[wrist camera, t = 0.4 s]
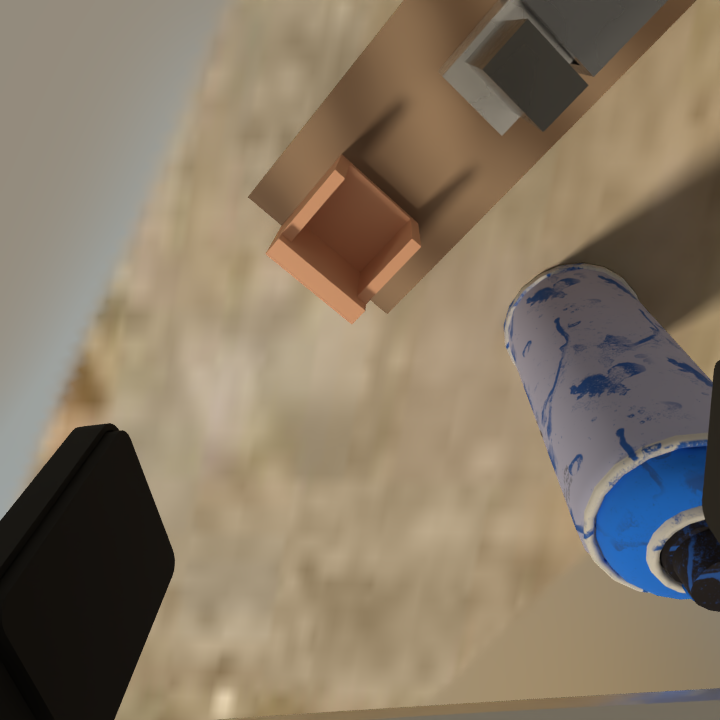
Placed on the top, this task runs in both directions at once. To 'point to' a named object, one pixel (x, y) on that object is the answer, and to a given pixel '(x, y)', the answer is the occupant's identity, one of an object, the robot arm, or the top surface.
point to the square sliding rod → (513, 69)
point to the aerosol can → (620, 428)
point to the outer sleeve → (593, 27)
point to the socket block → (345, 240)
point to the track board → (428, 131)
